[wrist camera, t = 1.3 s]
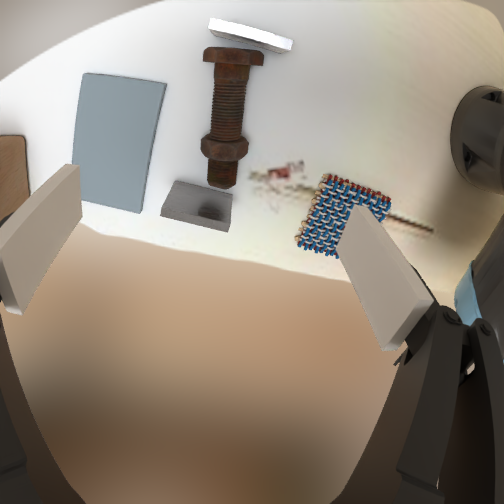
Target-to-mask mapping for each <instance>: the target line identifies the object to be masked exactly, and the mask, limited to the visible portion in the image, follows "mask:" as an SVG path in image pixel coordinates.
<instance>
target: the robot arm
mask: <svg viewBox="0 0 504 504" xmlns="http://www.w3.org/2000/svg"><path fill="white" fill-rule="evenodd" d="M451 150H452V155H453V159H454V162H455V165H456V167H457V169H458V171H459V172H460V174H461V175H462V176H463V177H464V178H465V179H466V180H468V181H469V182H470V183H472V184H473V185H474V186H476V187H477V188H480V189H482V190H485V191H489V192H493V193H497V194H501V195H504V91H503V90H501V89H497V88H494V87H490V86H481V87H478V88H475V89H473V90H472V91H470V92H469V93H468V94H467V95H466V96H465V97H464V98H463V100H462V101H461V103H460V104H459V106H458V108H457V111H456V113H455V116H454V119H453V123H452V129H451ZM81 218H82V205H81V188H80V165H74V164H65V165H64V166H63V167H62V168H61V169H59V170H58V171H57V172H56V173H55V174H54V175H53V176H52V177H50V178H49V179H48V180H47V181H46V182H45V183H44V184H43V185H42V186H41V187H40V188H39V189H37V190H36V191H35V192H34V193H33V194H32V195H31V196H30V197H29V198H28V199H27V200H26V201H25V202H24V203H23V204H22V205H21V206H20V207H19V208H18V209H17V210H16V211H15V212H12V213H11V214H9V215H7V216H6V217H4V218H3V219H2V220H1V221H0V302H1V300H2V301H3V303H4V306H5V308H6V310H7V311H8V312H11V313H15V314H18V315H23V314H24V312H25V310H26V308H27V306H28V304H29V303H30V301H31V299H32V297H33V295H34V293H35V291H36V290H37V287H38V286H39V284H40V282H41V281H42V279H43V277H44V276H45V274H46V272H47V270H48V269H49V267H50V265H51V264H52V262H53V261H54V259H55V257H56V255H57V254H58V252H59V251H60V249H61V248H62V246H63V245H64V243H65V242H66V240H67V238H68V237H69V236H70V234H71V233H72V231H73V229H74V228H75V227H76V225H77V224H78V222H79V221H80V220H81ZM336 251H337V253H338V255H339V258H340V260H341V262H342V264H343V266H344V268H345V270H346V272H347V274H348V276H349V278H350V280H351V282H352V285H353V287H354V289H355V291H356V293H357V295H358V297H359V299H360V302H361V304H362V306H363V309H364V311H365V313H366V315H367V317H368V320H369V322H370V324H371V327H372V329H373V331H374V333H375V336H376V338H377V340H378V343H379V345H380V348H381V350H382V351H390V350H397V349H398V348H399V347H400V345H401V344H402V343H403V342H404V340H405V341H406V343H407V345H408V347H407V349H406V350H405V351H404V352H403V353H402V354H401V356H400V357H399V358H398V359H397V360H396V361H395V363H394V365H395V366H396V365H397V364H398V363H399V362H400V364H399V367H398V370H397V373H396V376H395V379H394V381H393V384H392V387H391V389H390V392H389V395H388V397H387V400H386V402H385V405H384V407H383V410H382V412H381V415H380V417H379V419H378V422H377V424H376V426H375V428H374V431H373V433H372V435H371V437H370V440H369V442H368V444H367V446H366V448H365V450H364V452H363V454H362V456H361V458H360V460H359V462H358V464H357V466H356V468H355V469H354V471H353V473H352V475H351V477H350V479H349V481H348V483H347V484H346V486H345V488H344V489H343V491H342V492H341V494H340V495H339V496H338V497H337V498H336V499H335V500H333V501H332V502H331V503H330V504H504V214H503V216H502V218H501V219H500V221H499V223H498V225H497V226H496V228H495V230H494V231H493V233H492V234H491V236H490V238H489V239H488V241H487V242H486V244H485V246H484V247H483V249H482V250H481V251H480V253H479V254H478V256H477V257H476V259H475V260H473V261H471V263H470V264H469V268H468V270H467V271H466V273H465V275H464V276H463V278H462V279H461V281H460V282H459V284H458V285H457V287H456V290H455V295H454V301H455V302H454V304H455V308H456V312H455V311H454V310H453V309H451V308H449V307H447V306H443V305H442V306H440V305H439V303H438V302H437V300H436V298H435V297H434V295H433V294H432V293H431V291H430V289H429V288H428V286H426V283H425V282H424V280H423V279H421V278H422V277H421V276H420V274H419V273H418V272H417V270H416V269H415V268H414V267H413V266H412V265H411V264H410V263H409V262H408V261H407V259H406V258H405V256H404V255H403V254H402V252H401V251H400V249H399V248H398V247H397V245H396V244H395V243H394V241H393V240H392V239H391V237H390V236H389V235H388V233H387V232H386V231H385V229H384V228H383V227H382V225H381V224H380V223H379V221H378V220H377V219H376V218H375V216H374V215H373V214H372V213H371V211H370V210H369V209H368V208H367V207H365V206H360V205H356V204H354V206H353V209H352V211H351V214H350V216H349V218H348V221H347V223H346V226H345V228H344V231H343V233H342V235H341V238H340V240H339V242H338V245H337V247H336ZM473 363H474V364H475V368H474V370H473V371H472V372H471V373H470V374H469V375H468V374H467V369H468V368H469V367H470V366H471V365H472V364H473ZM438 478H439V482H438V489H437V486H436V485H437V481H438ZM0 504H86V503H85V502H84V501H83V499H82V498H81V497H80V496H79V494H78V493H77V492H76V491H75V490H74V489H73V488H72V487H71V486H70V484H69V483H68V481H67V480H66V478H65V477H64V475H63V473H62V472H61V470H60V468H59V466H58V465H57V463H56V461H55V459H54V457H53V456H52V454H51V452H50V450H49V448H48V446H47V444H46V442H45V440H44V438H43V436H42V434H41V432H40V430H39V428H38V425H37V423H36V421H35V419H34V416H33V414H32V412H31V410H30V407H29V405H28V402H27V400H26V397H25V394H24V392H23V389H22V386H21V384H20V381H19V378H18V375H17V373H16V369H15V366H14V363H13V360H12V357H11V353H10V350H9V346H8V342H7V339H6V335H5V331H4V327H3V323H2V318H1V314H0Z"/></svg>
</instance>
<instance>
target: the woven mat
mask: <svg viewBox="0 0 504 504" xmlns="http://www.w3.org/2000/svg"><path fill="white" fill-rule="evenodd" d="M322 178H325V180H324V181H323V182H325V183H320V184H319V187H320V188H321V189H322V190H321V191H318V190H316V192H315V194H317V195H319V197H318V196H317V198H316V199H312V204H316V205H315V207H314V206H311V208H310V210H311V211H310V212H309V213H311V214H308V215H307V218H309V219H308V220H307V222H305V221H303V222H302V223H301V224H302V225H303V226H304V228H299V229H298V230H300V231H302V232H303V233H302V235H301V236H297V237H295V241H299V242H298V244H297V245H298V247H301V246H305V247H304V250H307V249H308V248H309V250H312V249H313V247H314V250H315V253H318V251H319V252H320V253H323V251H324V252H326V254H325V256H328V255H329V254H330V255H331V256H333V254H334V255H336V259H338V258H339V255H338V253H337V251H336V247H337V245H338V242H339V240H340V238H341V235H342V233H343V231H344V228H345V226H346V223H347V221H348V218H349V216H350V214H351V211H352V209H353V206H354V204H356V205H360V206H365V207H367V208H368V209H369V210H370V211H371V213H372V214H373V215H374V216H375V218H376V219H377V220H378V221H379V223H380V222H381V221H382V220H383V219H385V220H386V219H387V218H386V217H385V214H388V212H387V211H388V210H389V211H390V210H391V209H390V207H391V202H390V200H391V198H389V197H388V198H386V196H384V195H383V196H381V192H378V193H376V192H374V191H373V192H371V189H368V190H366V188H364V187H363V188H361V186H359V185H358V186H356V184H354V183H352V184H351V183H349V180H344V179H341V180H340V179H338V177H337V176H335V177H333V176H332V175H326V174H323V176H322ZM331 184H332V185H331ZM354 191H355V192H354ZM345 196H346V197H345ZM336 202H337V203H336ZM376 202H377V203H376ZM321 205H322V206H321ZM320 206H321V207H320ZM332 210H333V211H332ZM323 215H324V216H323ZM314 220H315V221H314ZM320 222H321V223H320ZM380 224H381V225H382V224H383V223H380ZM307 235H308V236H307ZM306 236H307V237H306ZM303 243H304V244H303ZM302 244H303V245H302ZM319 248H320V249H319Z"/></svg>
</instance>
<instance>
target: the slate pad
mask: <svg viewBox="0 0 504 504" xmlns="http://www.w3.org/2000/svg"><path fill="white" fill-rule="evenodd" d="M166 85H167V84H164V83H159V82H153V81H147V80H141V79H134V78H127V77H119V76H111V75H101V74H91V73H85V74H83V77H82V82H81V88H80V94H79V100H78V107H77V115H76V123H75V132H74V142H73V155H72V164H74V165H80V188H81V200H83V201H87V202H92V203H96V204H100V205H104V206H109V207H113V208H117V209H121V210H126V211H130V212H134V213H138V214H140V213H141V211H142V207H143V200H144V193H145V186H146V180H147V174H148V168H149V163H150V157H151V152H152V147H153V142H154V137H155V132H156V127H157V123H158V118H159V114H160V110H161V105H162V101H163V97H164V93H165V89H166Z"/></svg>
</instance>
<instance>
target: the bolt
mask: <svg viewBox="0 0 504 504" xmlns="http://www.w3.org/2000/svg"><path fill="white" fill-rule="evenodd" d="M263 60H264V55H263V54H262V53H261V52H260V51H257V50H249V49H238V48H224V47H208V48H206V49H205V50H204V53H203V61H205V62H215V67H214V81H215V82H214V84H215V85H214V87H215V88H214V89H213V90H214V92H213V93H214V94H215V95H213V97H215V98H213V100H214V101H213V102H212V103H213V105H212V107H213V108H212V111H211V112H212V114H211V115H212V117H211V119H212V120H211V122H212V123H211V125H212V126H211V128H212V129H211V130H210V131H211V132H210V134H207V135H206V136H205V137H203V138H202V139H201V151H202V153H203V154H204V156H206V157H207V158H209V159H208V161H209V162H208V174H207V175H208V176H207V178H208V179H207V181H208V184H209V185H210V186H213V187H217V188H221V189H229V188H231V187H232V186H234V185H235V184H236V175H237V174H236V173H237V166H238V165H237V164H238V160H240V159H242V158H243V157H244V156H245V155H246V154H247V153H248V145H249V143H248V142H247V140H246V139H245V138H244V137H242V136H240V135H241V128H242V127H241V126H242V122H243V121H242V119H243V117H242V116H243V114H242V113H244V112H243V111H242V110H244V108H243V107H244V105H243V104H244V100H245V99H244V98H245V94H246V92H244V91H246V89H245V88H246V86H245V85H247V81H248V78H249V70H250V65H257V66H263Z"/></svg>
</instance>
